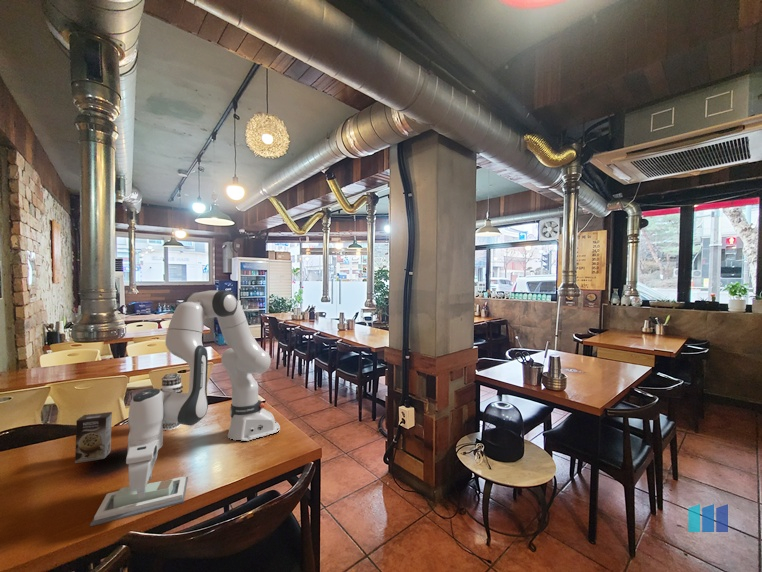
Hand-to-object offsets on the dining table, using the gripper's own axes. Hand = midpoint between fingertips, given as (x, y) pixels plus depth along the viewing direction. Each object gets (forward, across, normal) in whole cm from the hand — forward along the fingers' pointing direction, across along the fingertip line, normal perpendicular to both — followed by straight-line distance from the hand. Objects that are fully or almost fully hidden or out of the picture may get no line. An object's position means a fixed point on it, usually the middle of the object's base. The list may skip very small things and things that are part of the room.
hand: (144, 487), depth 98 cm
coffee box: (+4, -39, -23) cm, 45 cm away
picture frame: (+4, 0, 0) cm, 4 cm away
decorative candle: (+4, -58, 0) cm, 58 cm away
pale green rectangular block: (+3, 0, 0) cm, 3 cm away
